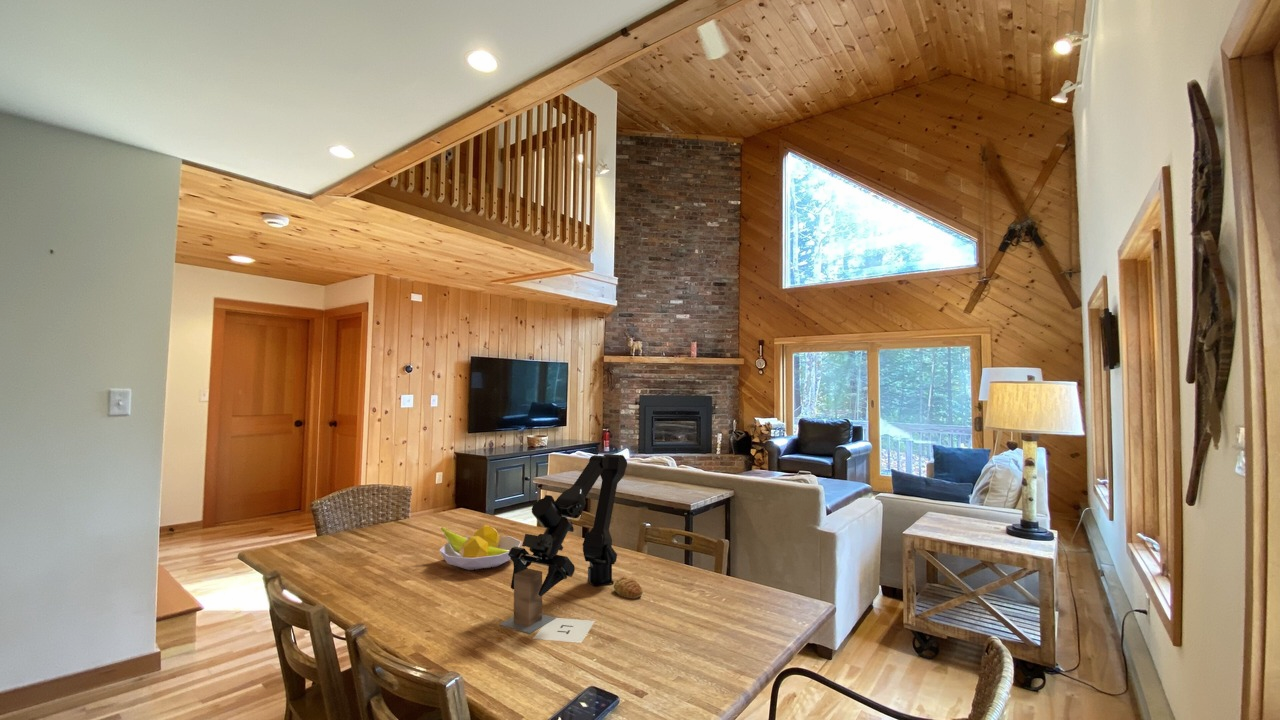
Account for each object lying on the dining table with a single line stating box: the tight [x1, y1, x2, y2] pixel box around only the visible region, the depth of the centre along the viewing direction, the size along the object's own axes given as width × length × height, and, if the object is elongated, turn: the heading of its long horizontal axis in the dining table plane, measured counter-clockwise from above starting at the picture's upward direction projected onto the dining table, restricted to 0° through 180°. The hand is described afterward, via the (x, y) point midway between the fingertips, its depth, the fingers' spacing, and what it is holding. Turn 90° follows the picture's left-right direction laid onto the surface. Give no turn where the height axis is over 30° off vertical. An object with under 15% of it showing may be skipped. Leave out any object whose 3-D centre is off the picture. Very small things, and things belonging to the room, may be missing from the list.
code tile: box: [532, 617, 596, 644], centre depth 134 cm, size 12×12×1 cm
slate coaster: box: [498, 613, 557, 635], centre depth 138 cm, size 10×10×1 cm
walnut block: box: [513, 567, 543, 627], centre depth 138 cm, size 5×5×12 cm
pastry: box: [613, 576, 644, 599], centre depth 158 cm, size 9×7×4 cm
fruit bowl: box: [439, 524, 522, 571], centre depth 186 cm, size 28×27×11 cm
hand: (525, 592), depth 138 cm, fingers open, 9 cm apart
